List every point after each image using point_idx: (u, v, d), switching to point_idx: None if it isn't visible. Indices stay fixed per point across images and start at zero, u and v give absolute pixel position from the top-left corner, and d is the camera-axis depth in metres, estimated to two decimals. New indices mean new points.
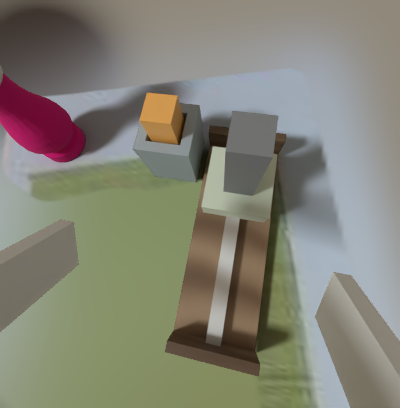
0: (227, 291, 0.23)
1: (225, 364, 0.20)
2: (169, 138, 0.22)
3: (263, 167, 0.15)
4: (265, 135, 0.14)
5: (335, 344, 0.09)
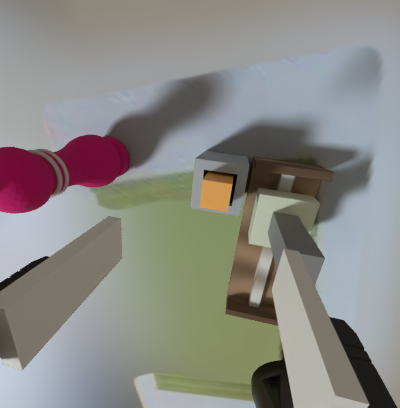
0: (264, 282, 0.34)
1: (262, 320, 0.34)
2: None
3: None
4: (311, 271, 0.18)
5: (280, 308, 0.10)
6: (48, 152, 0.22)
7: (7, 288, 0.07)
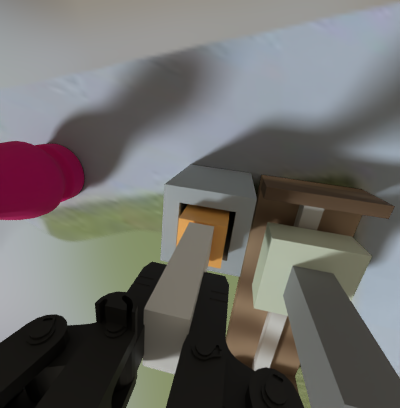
0: (274, 348, 0.24)
1: None
2: None
3: None
4: None
5: None
6: None
7: (154, 294, 0.07)
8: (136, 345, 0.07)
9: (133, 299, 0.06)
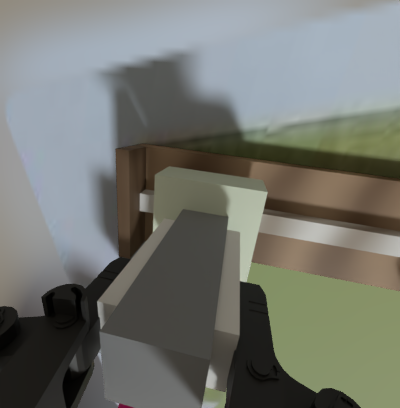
0: (366, 233, 0.16)
1: None
2: None
3: None
4: (152, 361, 0.06)
5: None
6: None
7: (111, 287, 0.07)
8: (89, 334, 0.07)
9: (83, 289, 0.07)
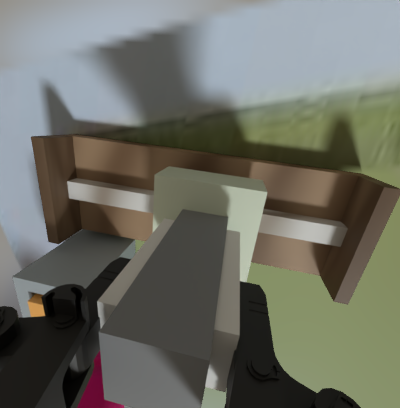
0: (273, 217, 0.17)
1: (376, 234, 0.14)
2: None
3: (215, 313, 0.07)
4: (151, 362, 0.06)
5: None
6: None
7: (111, 287, 0.07)
8: (89, 334, 0.07)
9: (83, 289, 0.07)
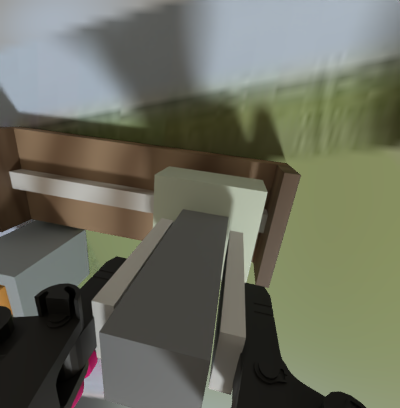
0: None
1: (284, 219, 0.15)
2: None
3: (215, 314, 0.07)
4: (152, 362, 0.06)
5: None
6: None
7: (106, 286, 0.07)
8: (84, 333, 0.07)
9: (77, 288, 0.07)
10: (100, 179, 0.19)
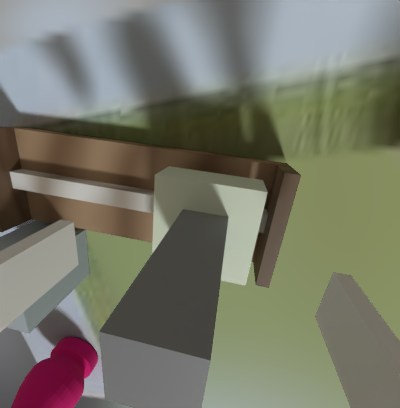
0: None
1: (284, 219, 0.15)
2: None
3: None
4: (152, 361, 0.06)
5: (335, 344, 0.09)
6: None
7: None
8: None
9: None
10: (100, 179, 0.19)
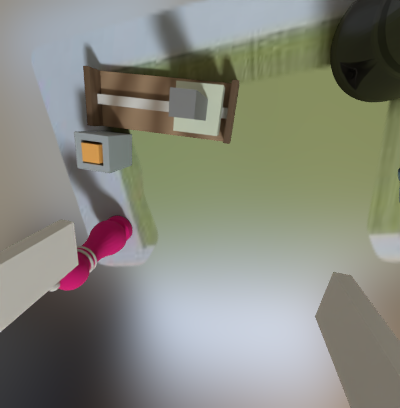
0: None
1: (233, 103, 0.33)
2: None
3: (199, 94, 0.25)
4: (182, 94, 0.24)
5: (335, 344, 0.09)
6: None
7: None
8: None
9: None
10: (144, 97, 0.37)
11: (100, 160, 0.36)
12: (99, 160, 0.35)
